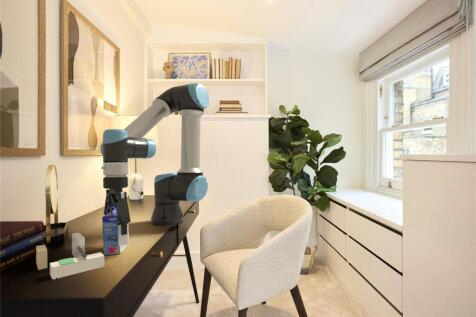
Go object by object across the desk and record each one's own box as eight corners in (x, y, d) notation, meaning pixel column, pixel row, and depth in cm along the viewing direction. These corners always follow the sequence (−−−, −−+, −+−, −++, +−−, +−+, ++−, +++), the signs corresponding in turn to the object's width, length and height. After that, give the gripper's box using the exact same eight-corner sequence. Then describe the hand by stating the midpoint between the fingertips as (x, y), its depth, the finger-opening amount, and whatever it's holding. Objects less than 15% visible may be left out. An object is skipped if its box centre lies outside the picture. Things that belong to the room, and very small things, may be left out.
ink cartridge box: (112, 245, 93) (112, 203, 93) (129, 244, 93) (129, 203, 94) (101, 255, 83) (101, 208, 83) (120, 254, 84) (119, 208, 84)
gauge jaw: (79, 252, 85) (79, 232, 85) (92, 268, 72) (92, 244, 72) (72, 254, 83) (71, 233, 83) (84, 270, 71) (83, 246, 71)
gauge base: (90, 252, 86) (90, 236, 86) (104, 266, 74) (104, 248, 74) (36, 263, 77) (36, 246, 77) (41, 282, 65) (41, 261, 65)
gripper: (93, 175, 95) (94, 234, 95) (115, 178, 77) (116, 252, 76) (116, 174, 100) (116, 230, 100) (141, 176, 81) (142, 246, 81)
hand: (116, 240), depth 88 cm, fingers open, 13 cm apart
